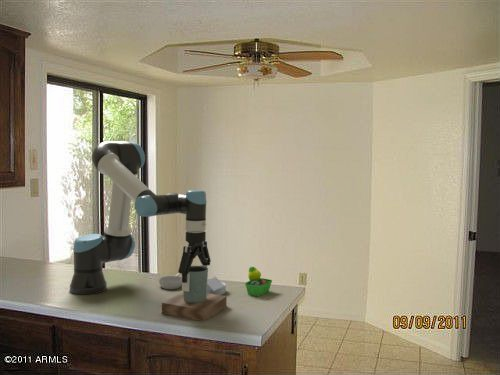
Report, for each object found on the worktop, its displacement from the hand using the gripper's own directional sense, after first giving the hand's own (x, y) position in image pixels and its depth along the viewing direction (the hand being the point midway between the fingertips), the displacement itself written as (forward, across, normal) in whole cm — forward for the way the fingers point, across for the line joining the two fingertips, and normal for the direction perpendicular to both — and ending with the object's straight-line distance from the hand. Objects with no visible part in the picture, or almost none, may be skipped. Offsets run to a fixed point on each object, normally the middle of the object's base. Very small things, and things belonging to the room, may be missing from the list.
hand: (194, 286), depth 179 cm
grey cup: (+5, 0, 0) cm, 5 cm away
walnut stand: (+9, 0, 0) cm, 9 cm away
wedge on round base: (+9, +22, +4) cm, 24 cm away
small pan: (+10, +26, +26) cm, 38 cm away
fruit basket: (+9, +31, -13) cm, 35 cm away
